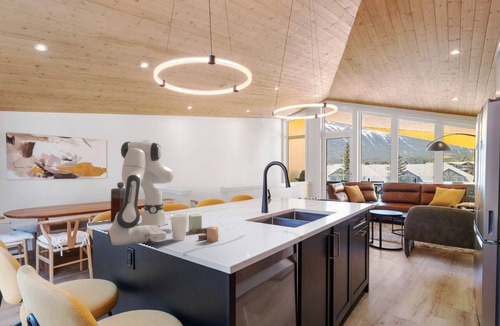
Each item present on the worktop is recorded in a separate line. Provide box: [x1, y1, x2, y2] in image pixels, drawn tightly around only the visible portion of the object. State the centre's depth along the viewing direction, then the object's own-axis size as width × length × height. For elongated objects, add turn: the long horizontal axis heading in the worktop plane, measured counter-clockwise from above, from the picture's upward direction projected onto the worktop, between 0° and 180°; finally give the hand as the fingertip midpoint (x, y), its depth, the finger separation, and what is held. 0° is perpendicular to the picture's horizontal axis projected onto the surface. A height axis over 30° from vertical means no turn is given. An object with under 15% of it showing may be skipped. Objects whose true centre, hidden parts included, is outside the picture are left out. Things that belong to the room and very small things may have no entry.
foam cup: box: [169, 213, 189, 242], centre depth 152 cm, size 10×9×13 cm
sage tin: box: [188, 214, 203, 231], centre depth 170 cm, size 6×6×10 cm
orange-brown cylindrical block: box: [206, 226, 219, 243], centre depth 149 cm, size 6×6×7 cm
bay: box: [188, 227, 207, 241], centre depth 160 cm, size 11×16×2 cm
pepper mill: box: [110, 181, 125, 222], centre depth 203 cm, size 9×11×28 cm
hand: (170, 231), depth 150 cm, fingers closed, pressing on foam cup
